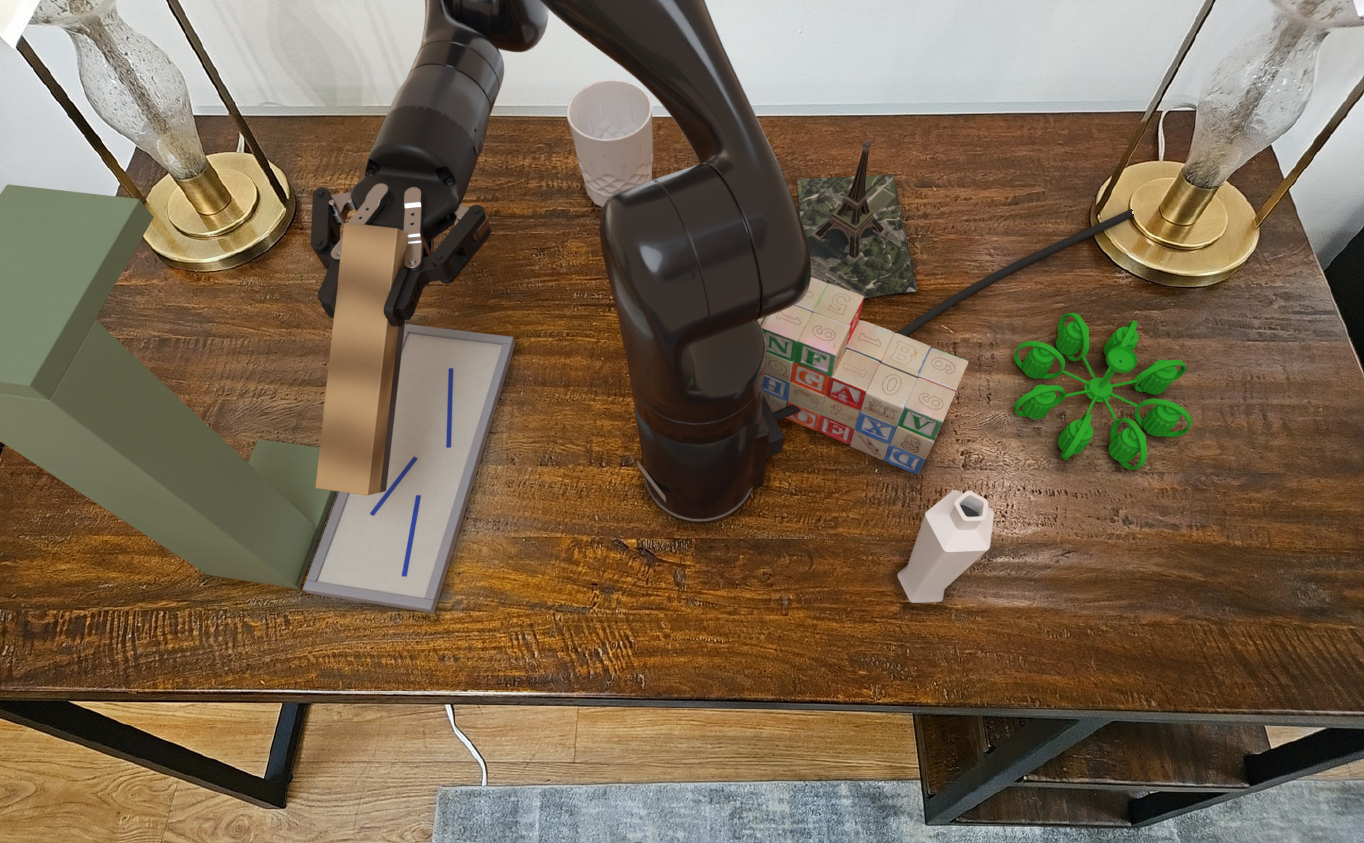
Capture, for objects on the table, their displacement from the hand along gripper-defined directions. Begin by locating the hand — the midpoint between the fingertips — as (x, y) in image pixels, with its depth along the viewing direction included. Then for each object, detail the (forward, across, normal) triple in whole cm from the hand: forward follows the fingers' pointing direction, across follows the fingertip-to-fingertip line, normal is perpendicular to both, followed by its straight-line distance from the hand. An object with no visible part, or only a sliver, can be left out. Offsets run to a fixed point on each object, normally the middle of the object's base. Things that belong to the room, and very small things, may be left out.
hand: (361, 315), depth 63 cm
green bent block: (+10, -10, +17) cm, 22 cm away
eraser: (+1, 0, +4) cm, 4 cm away
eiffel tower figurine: (-26, +35, +17) cm, 47 cm away
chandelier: (-11, +57, +17) cm, 60 cm away
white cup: (-30, +11, +17) cm, 36 cm away
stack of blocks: (-8, +33, +17) cm, 38 cm away
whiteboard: (+3, 0, +17) cm, 17 cm away
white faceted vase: (+7, +43, +17) cm, 47 cm away
